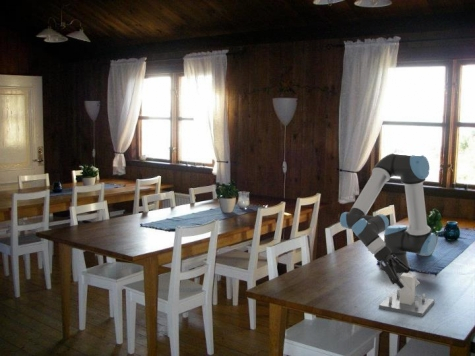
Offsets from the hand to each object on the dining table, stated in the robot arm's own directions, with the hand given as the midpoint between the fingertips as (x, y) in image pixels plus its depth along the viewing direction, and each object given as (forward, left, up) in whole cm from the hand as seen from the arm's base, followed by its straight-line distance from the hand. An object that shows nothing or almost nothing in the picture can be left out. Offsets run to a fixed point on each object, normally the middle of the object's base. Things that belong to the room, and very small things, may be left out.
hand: (413, 289), depth 230 cm
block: (0, -2, -6) cm, 7 cm away
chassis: (0, -2, -8) cm, 8 cm away
